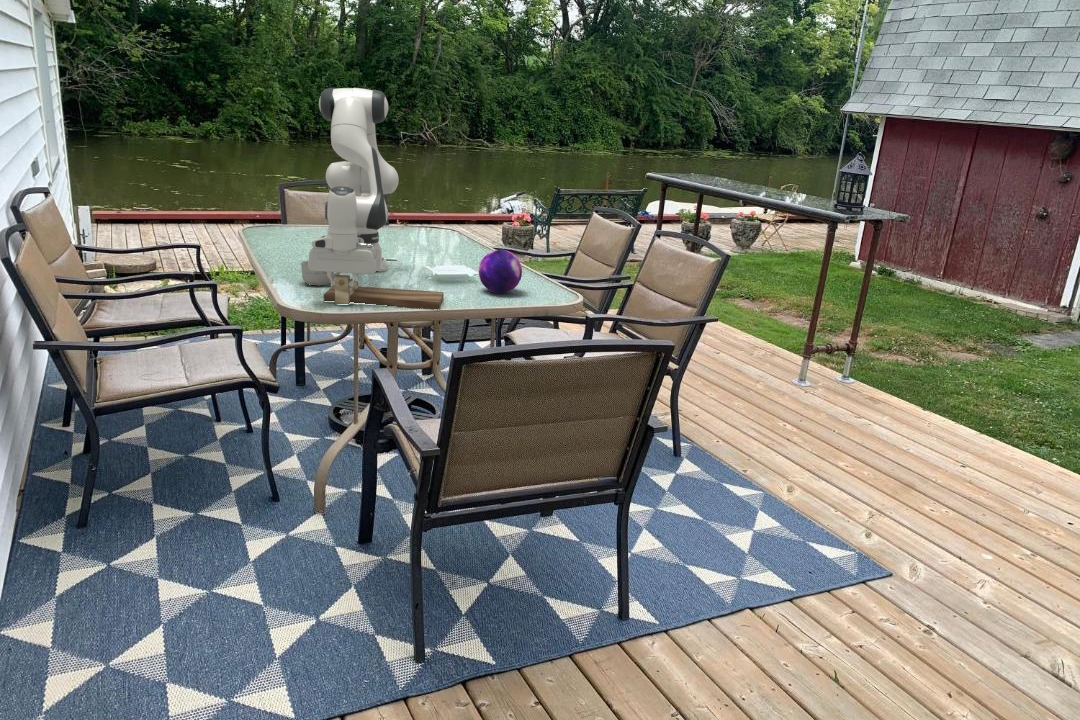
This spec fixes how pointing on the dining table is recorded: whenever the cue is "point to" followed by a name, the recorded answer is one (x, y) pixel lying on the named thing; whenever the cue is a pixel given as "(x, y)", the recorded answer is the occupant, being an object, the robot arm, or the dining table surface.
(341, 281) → the marking gauge
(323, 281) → the teacup
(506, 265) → the decorative orb
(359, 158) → the robot arm
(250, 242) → the dining table surface
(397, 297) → the oak plank
